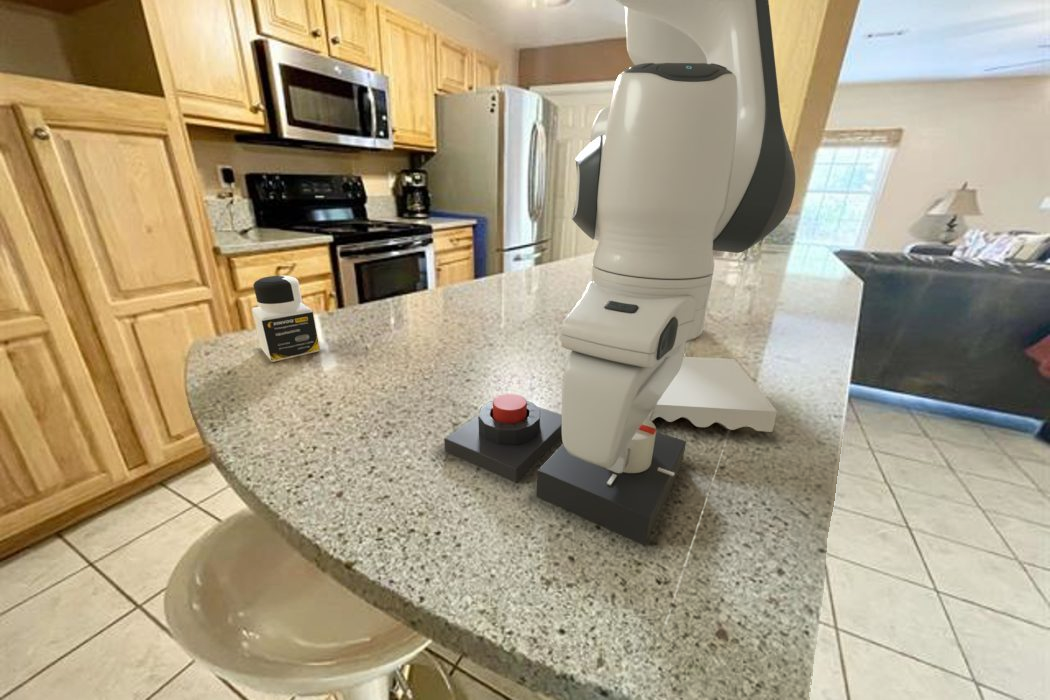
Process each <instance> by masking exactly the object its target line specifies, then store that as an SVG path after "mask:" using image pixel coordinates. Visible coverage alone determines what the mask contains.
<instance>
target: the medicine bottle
mask: <svg viewBox="0 0 1050 700" xmlns="http://www.w3.org/2000/svg"><path fill="white" fill-rule="evenodd" d="M252 286H253V290H254V294H255V298H256V302H257V306H254V307H252V309H251V312H252V317H253V320H254V321H253V322H254V324H255V325H254V326H255V328H256V333H257V337H258V341H259V345H260V348H261V350H262V351H263V353H264V354H265V355H266V357H267V358H268V359H269V360H270V362H272V363H275V362H280V361H284V360H287V359H293V358H296V357H301V356H305V355H306V356H307V355H310V354H314V353H318V352H320V350H321V349H320V343H319V338H318V332H317V327H316V321H315V315H314V312H313V311H314V310H313V309H311V308H310V307H309V306H307V305H306V304H304V302H303V297H302V293H301V288H300V281H299V279H297V277H294V276H291V275H282V274H281V275H270V276H264V277H261V278H258V279H257V280H256V281H254V283H253V285H252Z"/></svg>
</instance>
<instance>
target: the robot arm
mask: <svg viewBox="0 0 1050 700" xmlns="http://www.w3.org/2000/svg"><path fill="white" fill-rule="evenodd" d="M615 1H616V2H617V3H619V4H620V5H622V6H623V7H624V13H625V15H624V16H625V35H626V38H625V39H626V51H627V54H628V56H629V59H630V61H631V62H632V63H633V65H632V66H629V68H627V69H625V70H623V71H622V72H620V73H619V75H618V76H617V78H616V80H615V84H614V87H613V92H612V97H611V102H610V105H608V106H605V107H603V108H602V109H601V110H600V111H599V112H598V114H597V115H596V117H595V119H594V120H593V123H592V126H591V129H590V138H589V141H590V142H589V144H588V145H587V146H586V147H584V148H583V150H582V151H581V152H579V154H578V155H576V157H575V158H574V159H575V167H576V188H575V189H576V190H575V201H574V207H573V208H574V209H573V213H572V216H571V220H572V221H573V222H574V223H575V224H576V226H578V228H579V229H580V230H581V231H582V232H583V233H584V234H585V235H586V236H587V237H589V238H590V239H591V240H595V241H598V243H597V246H596V249H595V251H594V255H593V258H592V267H591V278H590V281H589V282H588V283H587V285H586V288H585V289H584V292H583V294H582V295H581V297H580V299H579V300H578V302H577V303H576V304H575V306H573V308H572V309H571V310H570V312H569V313H568V314H567V315H566V316H565V318H564V319H563V322H562V324H561V328H560V329H561V330H560V344H561V346H562V348H563V349H566V350H570V353H569V355H568V357H567V359H566V362H565V366H564V370H563V375H562V377H563V378H562V389H561V390H562V392H561V415H562V437H561V440H562V444H563V445H564V447H565V448H566V450H567V451H568V452H569V454H571V455H572V456H574V457H577V458H579V459H582V460H584V461H587V462H590V463H592V464H595V465H598V466H601V467H604V468H606V469H608V470H611V471H613V472H616V473H622V472H623V471H624V469H625V468H626V466H627V464H628V463H629V456H630V450H631V449H629V448H628V444H629V442H630V441H631V439H632V438H633V436H634V435H635V434H636V432H637V431H638V429H639V428H640V426H641V425H642V424H643V422H644V421H645V419H646V418H647V419H649V420H650V421H651V418H652V416H653V413H654V410H655V407H656V405H657V402H658V401H659V399H660V398H661V396H662V395H663V394H664V392H665V391H666V389H667V388H668V386H669V385H670V384H671V382H672V381H673V379H674V378H675V376H676V375H677V374H678V372H679V370H680V368H681V365H682V361H683V357H685V350H686V343H687V341H691V340H694V339H696V338H698V337H699V336H700V335H701V334H702V333H703V331H704V325H705V321H706V314H707V308H708V304H709V299H710V293H711V287H712V283H713V276H714V272H715V257H714V251H715V252H716V251H717V252H725V253H733V254H739V253H743V252H745V251H747V250H749V249H750V248H752V247H754V246H755V245H756V244H758V243H760V242H761V241H762V240H764V239H765V238H766V237H767V236H769V235H770V234H771V233H772V232H773V231H774V230H775V229H776V228H778V227H779V225H780V224H781V223H782V222H783V221H784V220H785V218H786V217H787V215H788V213H789V211H790V209H791V206H792V203H793V200H794V197H795V196H794V195H795V190H796V170H795V164H794V159H793V155H792V151H791V148H790V145H789V142H788V138H787V136H786V131H785V128H784V124H783V120H782V119H783V118H782V114H781V113H782V112H781V106H780V95H779V87H778V76H777V66H776V58H775V57H776V56H775V48H774V39H773V29H772V22H771V21H772V20H771V11H770V3H769V1H770V0H615ZM651 422H652V421H651Z"/></svg>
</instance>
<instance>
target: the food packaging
mask: <svg viewBox="0 0 1050 700" xmlns="http://www.w3.org/2000/svg"><path fill="white" fill-rule="evenodd" d="M777 414H778V411H777V410H776V408H775V407H774V405H772V403H771V402H770V401H769V400H768V399H767V397H766V396H765V394H764V393H763V392H762V391H761V390H760V389H759V387H758V386H757V385H756V384H755V383H754V381H753V380H752V379H751V378H750V376H749V375H748V374H747V373H746V371H745V370H744V369H743V368H742V367H741V365H739V363H738V362H737V360H736V359H735V358H724V357H723V358H722V357H703V356H702V357H701V356H699V357H698V356H684V357H683V361H682V365H681V368H680V370H679V372H678V374H677V375H676V376H675V378H674V379H673V381H672V382H671V384H670V385H669V386H668V388H667V389H666V391H665V392H664V394H663V395H662V396H661V398H660V399H659V401H658V402H657V405H656V407H655V410H654V413H653V416H652V418H651V422H653V421H654V420H655V419H657V418H661V419H662V420H665V421H666V422H668V423H672V422H674V421H676V420H678V419H680V418H683V419H686V420H687V421H689V422H690V423H691V424H693V426H695V427H696V428H708V427H710V426H711V425H713V424H715V423H716V424H718V425H719V426H721V427H722V428H724V429H726V430H730V431H734V430H737V429H740V428H745V427H749V428H751V429H753V430H754V431H757V432H768V433H772V432H773V431H774V428H775V422H776V418H777Z"/></svg>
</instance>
